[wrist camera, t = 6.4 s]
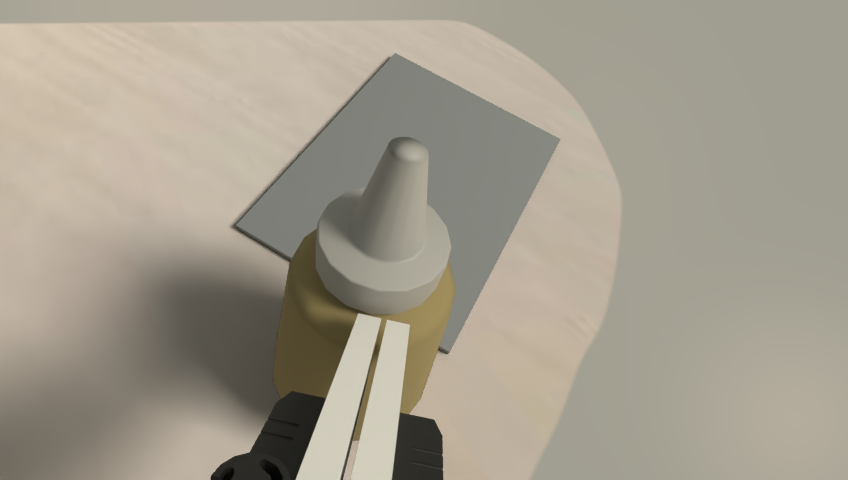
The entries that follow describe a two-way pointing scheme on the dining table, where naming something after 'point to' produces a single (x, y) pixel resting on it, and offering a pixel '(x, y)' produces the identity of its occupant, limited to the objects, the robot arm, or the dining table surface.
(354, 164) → the rubber mat
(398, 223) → the squeeze bottle
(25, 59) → the dining table surface
